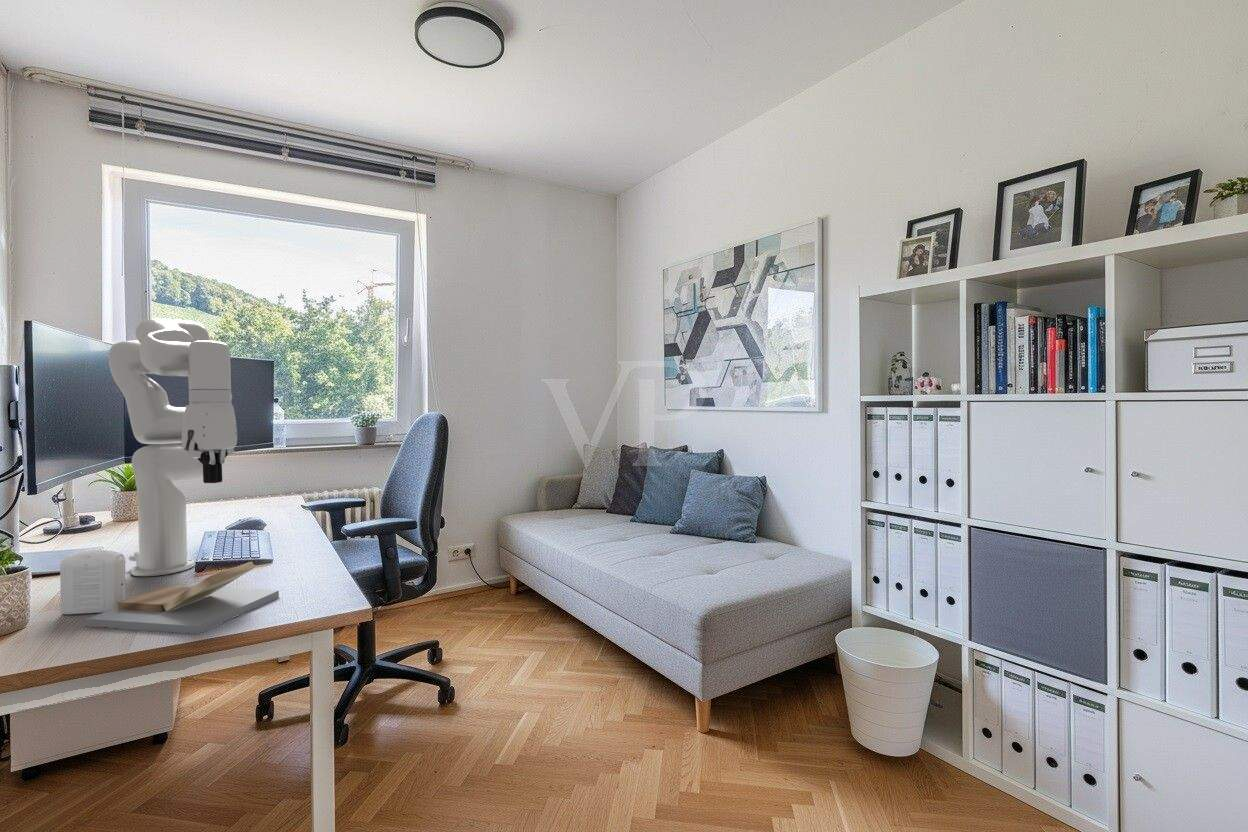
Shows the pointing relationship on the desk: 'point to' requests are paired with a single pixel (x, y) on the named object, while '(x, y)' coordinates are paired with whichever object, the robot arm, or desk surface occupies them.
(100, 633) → the desk surface
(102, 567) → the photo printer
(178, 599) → the oak plank
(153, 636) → the desk surface
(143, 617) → the floor board
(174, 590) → the flat wooden square
